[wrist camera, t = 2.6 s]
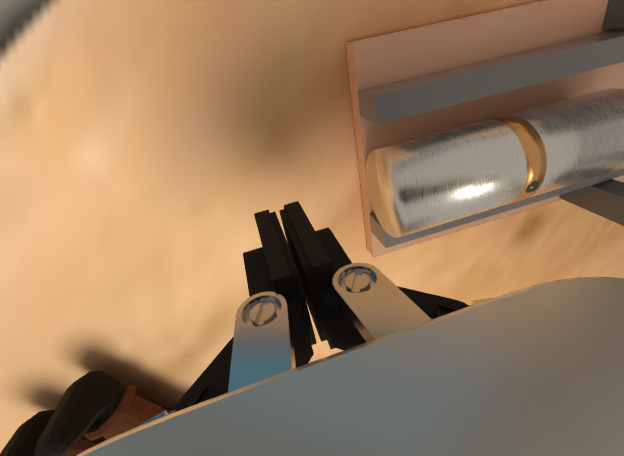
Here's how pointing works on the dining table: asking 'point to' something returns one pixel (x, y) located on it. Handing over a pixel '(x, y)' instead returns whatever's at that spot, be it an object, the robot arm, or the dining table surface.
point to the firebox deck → (484, 90)
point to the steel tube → (495, 162)
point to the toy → (82, 418)
